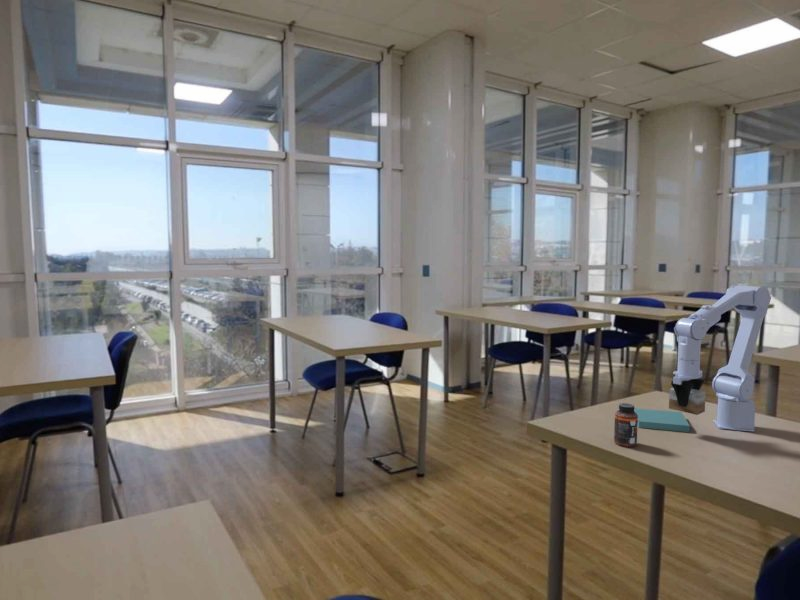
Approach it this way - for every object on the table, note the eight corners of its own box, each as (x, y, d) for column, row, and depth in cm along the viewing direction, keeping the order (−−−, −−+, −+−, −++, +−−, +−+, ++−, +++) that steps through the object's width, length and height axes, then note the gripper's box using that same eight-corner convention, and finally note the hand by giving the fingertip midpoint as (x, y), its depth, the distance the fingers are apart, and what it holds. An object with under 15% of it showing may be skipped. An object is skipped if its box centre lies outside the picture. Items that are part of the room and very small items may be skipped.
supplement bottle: (639, 448, 144) (640, 408, 143) (616, 447, 145) (617, 407, 144) (634, 440, 150) (635, 402, 148) (612, 439, 151) (613, 401, 150)
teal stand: (681, 418, 169) (681, 412, 169) (689, 432, 156) (689, 425, 156) (634, 414, 174) (634, 408, 174) (638, 427, 161) (638, 421, 160)
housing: (704, 411, 152) (705, 391, 152) (697, 414, 149) (698, 394, 149) (676, 405, 158) (677, 386, 158) (668, 408, 155) (669, 388, 155)
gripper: (685, 353, 160) (683, 396, 161) (663, 360, 151) (661, 405, 152) (710, 357, 154) (708, 402, 156) (688, 364, 146) (686, 411, 147)
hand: (686, 404), depth 154 cm, fingers closed on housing, 5 cm apart
